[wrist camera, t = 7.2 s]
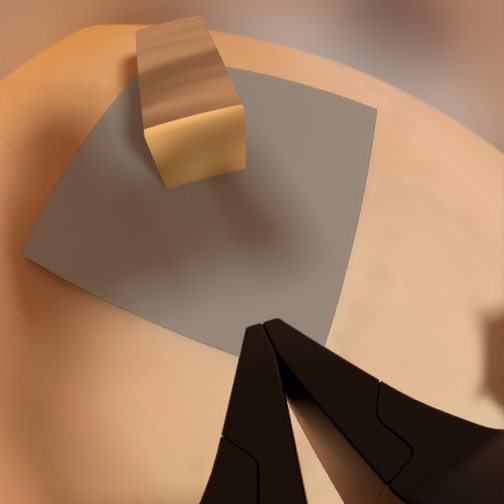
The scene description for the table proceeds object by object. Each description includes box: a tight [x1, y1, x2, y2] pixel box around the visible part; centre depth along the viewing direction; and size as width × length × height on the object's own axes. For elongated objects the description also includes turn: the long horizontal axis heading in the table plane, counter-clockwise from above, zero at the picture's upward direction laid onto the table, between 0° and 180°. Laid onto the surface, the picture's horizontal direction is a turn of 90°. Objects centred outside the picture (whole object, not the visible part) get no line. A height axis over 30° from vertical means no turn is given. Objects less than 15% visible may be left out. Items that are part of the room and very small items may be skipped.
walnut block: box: [136, 15, 246, 189], centre depth 18 cm, size 5×5×12 cm
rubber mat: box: [22, 67, 377, 357], centre depth 19 cm, size 20×20×1 cm
